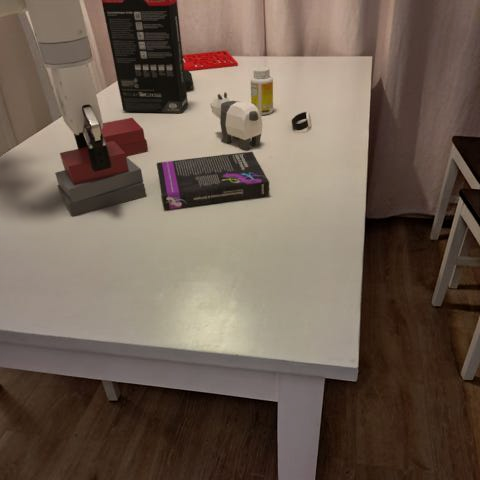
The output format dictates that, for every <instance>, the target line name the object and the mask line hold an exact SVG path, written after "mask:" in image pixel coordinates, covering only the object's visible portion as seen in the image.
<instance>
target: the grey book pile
mask: <svg viewBox="0 0 480 480" xmlns="http://www.w3.org/2000/svg"><path fill="white" fill-rule="evenodd" d="M126 160H127V164H128V169H129V171H128V172H124V173H120V174H116V175H112V176H108V177H104V178H100V179H96V180H92V181H88V182H84V183H80V184H76V185H74V184H73V183H72V181H71V179H70V178H69V176H68V175H67V173H66V171H65V169H64V170H60V171H56V172H54V174H55V177H56V180H57V185H56V186H57V188H58V192H59V194H60V197H61V199H62V201H63V202H64V203H63V204H65V207H66V208H67V210H68V212H69V213H70V215H71V217H74V216H78V215H82V214H86V213H89V212H93V211H97V210H100V209H104V208H108V207H111V206H115V205H116V206H117V205H119V204H122V203H126V202H129V201H134V200H137V199H141V198H144V197H147V193H146V187H145V184H144V178H143V173H142V169H141V168H140V167H139V165H137V164H136V163H135V162H133V161H132V160H130V158H128V156H126Z"/></svg>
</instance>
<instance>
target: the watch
mask: <svg viewBox="0 0 480 480" xmlns="http://www.w3.org/2000/svg"><path fill="white" fill-rule="evenodd" d="M303 120H304V121H303ZM301 121H302V122H301ZM291 125H292V128H293V130H294V131H304V130H305V129H307V128H311V127H312V118H311V114H310V112H309V111H308V110H307V111H303V112H299V113H298V114H296V115H295V116H294V117H293V118H292V119H291Z"/></svg>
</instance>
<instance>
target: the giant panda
mask: <svg viewBox="0 0 480 480" xmlns="http://www.w3.org/2000/svg"><path fill="white" fill-rule="evenodd" d="M209 105H210V106H209V107H210V109H211V113H212V114H213V115H214V116H215V117H216V118H218V119H219V120H220V122H219V124H220V130H221V136H222V137H221V140H220V141H221V143H224V144H231V143H232V142H233V140H232V138H233V139H235V140H236V139H237V140H239V141H240V144H239V145H238V148H239V149H241V150H244V151H247V150H249V149H250V148H251V147H250V145H251V146H255V147H257V146H259V145H261V137H262V132H263V118H262V115H261V114H260V112H259V110H258V109H257V107H256V106H255V105H254V104H252V103H251V102H249V101H237V100H230V99H229V98H228V93H227V92H226V91H224V93H223V95H221V94H220V93H218V94H217V96H216V97H214V98H213V101H212V102H210V104H209Z"/></svg>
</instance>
